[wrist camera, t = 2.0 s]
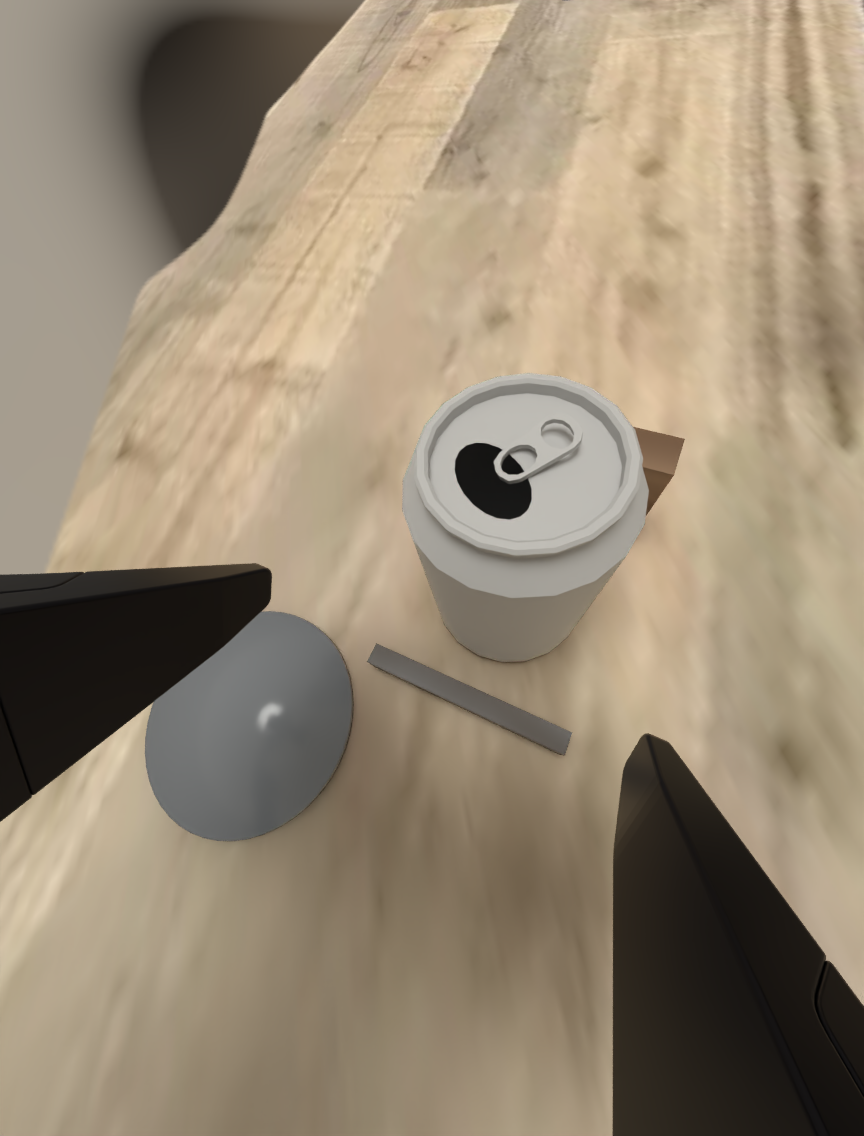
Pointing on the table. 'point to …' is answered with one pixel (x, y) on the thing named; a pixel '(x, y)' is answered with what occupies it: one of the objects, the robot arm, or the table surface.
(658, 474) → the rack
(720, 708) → the table surface
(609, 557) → the can
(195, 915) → the table surface
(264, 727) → the coaster
